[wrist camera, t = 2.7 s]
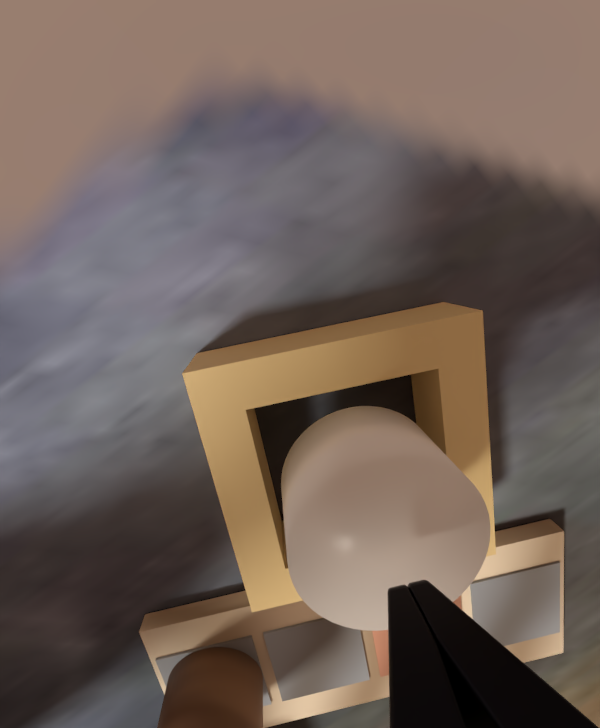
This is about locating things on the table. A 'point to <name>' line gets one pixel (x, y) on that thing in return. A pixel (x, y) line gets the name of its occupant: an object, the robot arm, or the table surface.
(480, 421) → the box
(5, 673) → the table surface
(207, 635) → the makeup compact
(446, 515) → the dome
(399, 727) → the robot arm
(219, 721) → the brown capsule
